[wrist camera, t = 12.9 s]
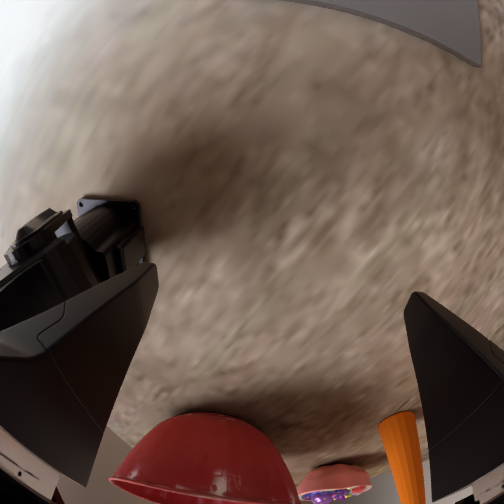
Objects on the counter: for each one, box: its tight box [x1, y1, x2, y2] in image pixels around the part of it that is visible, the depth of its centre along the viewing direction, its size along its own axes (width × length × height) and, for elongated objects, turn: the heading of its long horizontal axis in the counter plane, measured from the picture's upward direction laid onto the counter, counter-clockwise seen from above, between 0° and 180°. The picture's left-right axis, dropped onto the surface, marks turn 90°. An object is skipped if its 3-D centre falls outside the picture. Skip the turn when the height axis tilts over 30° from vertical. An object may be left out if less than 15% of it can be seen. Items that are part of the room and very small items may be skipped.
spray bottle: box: [378, 411, 425, 504], centre depth 26 cm, size 7×11×26 cm, turn 49°
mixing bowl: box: [109, 412, 301, 504], centre depth 33 cm, size 28×28×16 cm
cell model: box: [297, 464, 372, 504], centre depth 45 cm, size 17×20×11 cm
